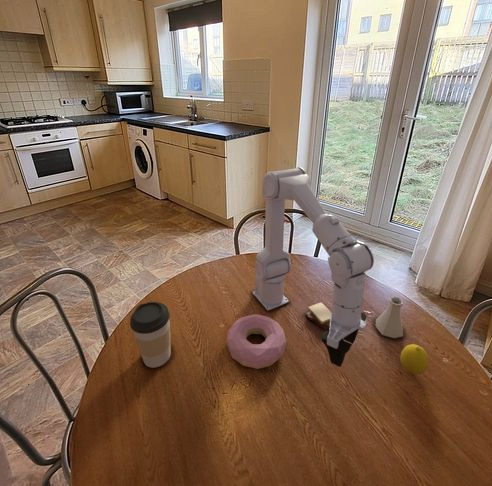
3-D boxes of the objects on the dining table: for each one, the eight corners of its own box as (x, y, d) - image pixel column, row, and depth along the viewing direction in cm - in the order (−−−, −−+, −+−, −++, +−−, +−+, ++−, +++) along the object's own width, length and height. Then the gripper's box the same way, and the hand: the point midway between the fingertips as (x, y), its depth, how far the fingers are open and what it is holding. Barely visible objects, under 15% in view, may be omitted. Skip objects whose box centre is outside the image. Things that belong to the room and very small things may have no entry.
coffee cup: (182, 347, 76) (176, 303, 70) (159, 377, 69) (150, 330, 63) (155, 336, 80) (147, 293, 74) (130, 363, 72) (119, 317, 66)
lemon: (420, 364, 71) (429, 341, 68) (425, 385, 67) (434, 360, 63) (395, 358, 73) (403, 334, 70) (398, 377, 68) (406, 353, 65)
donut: (215, 353, 75) (214, 338, 73) (247, 316, 86) (247, 303, 84) (267, 385, 67) (268, 370, 65) (295, 340, 78) (297, 326, 76)
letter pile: (302, 316, 86) (303, 310, 85) (317, 306, 90) (318, 300, 89) (325, 334, 80) (326, 327, 79) (340, 321, 84) (341, 315, 83)
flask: (397, 319, 85) (405, 292, 80) (407, 339, 78) (416, 311, 74) (371, 317, 85) (377, 290, 81) (379, 337, 79) (387, 309, 74)
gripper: (355, 329, 51) (349, 385, 56) (377, 288, 62) (371, 339, 67) (317, 313, 56) (315, 367, 60) (344, 278, 66) (341, 326, 71)
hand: (342, 351), depth 64 cm, fingers open, 7 cm apart
